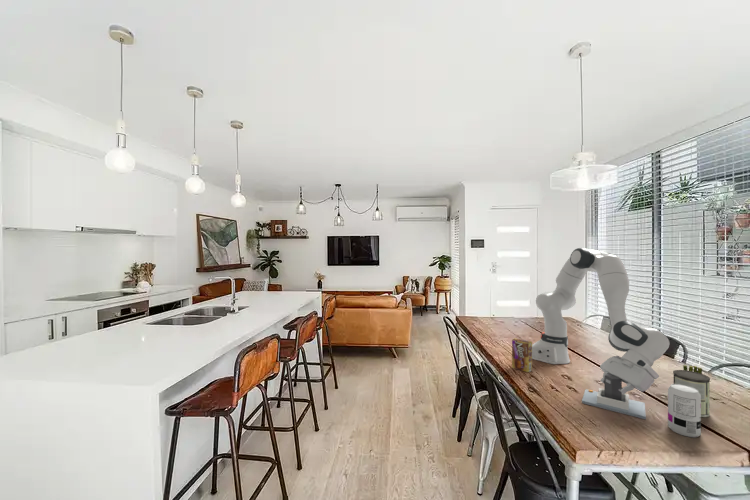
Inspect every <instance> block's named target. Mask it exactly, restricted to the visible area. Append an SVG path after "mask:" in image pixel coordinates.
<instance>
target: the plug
mask: <svg viewBox="0 0 750 500" xmlns="http://www.w3.org/2000/svg"><path fill="white" fill-rule="evenodd" d="M603 384H604V388H603V389H604V397H606V398H610V399H615V400H619V401H622V393H621V392H620V391H619V389H620V387H622V388H623V386H622V385H623V382H622V379H621V378H619V377H616V376H614V375H605V377H604V383H603Z"/></svg>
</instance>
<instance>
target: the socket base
mask: <svg viewBox="0 0 750 500" xmlns="http://www.w3.org/2000/svg"><path fill="white" fill-rule="evenodd" d="M581 404H585V405H589V406H591V407H595V408H601V409H604V410H608V411H611V412H616V413H620V414H624V415H628V416H630V417H635V418H639V419H642V420H646V419H647V415H646V403H645V402H643V401H639V400H634V399H630V395H629V393H625V394H622V401H619V400H615V399H610V398H606V397H604V388H600V387H598V391H596V390H593V389H587V388H586V389H585V390H584V393H583V396H582V399H581Z"/></svg>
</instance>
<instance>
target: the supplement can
mask: <svg viewBox="0 0 750 500" xmlns="http://www.w3.org/2000/svg"><path fill="white" fill-rule="evenodd" d="M667 427H668V428H669V429H670V430H671V431H672V432H673V433H677V434H678V435H680V436H681V435H682V436H684V437H688V438H698V437H699V436H701V434H702V431H701V430H702V429H701V428H702V417H701V395H700V393H699V392H698V390H697V389H695V388H693V387H690V386H686V385H681V384H674V383H671V384H670V385H669V386H668V388H667Z"/></svg>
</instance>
